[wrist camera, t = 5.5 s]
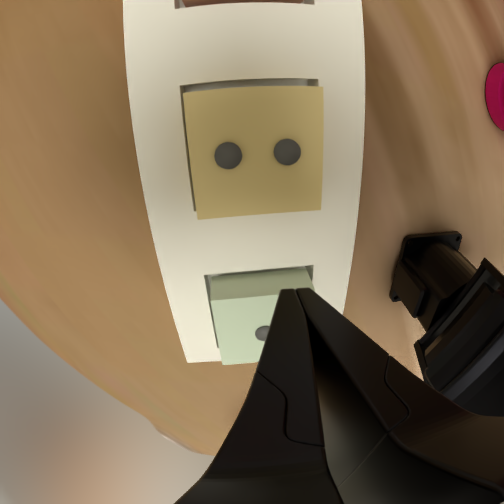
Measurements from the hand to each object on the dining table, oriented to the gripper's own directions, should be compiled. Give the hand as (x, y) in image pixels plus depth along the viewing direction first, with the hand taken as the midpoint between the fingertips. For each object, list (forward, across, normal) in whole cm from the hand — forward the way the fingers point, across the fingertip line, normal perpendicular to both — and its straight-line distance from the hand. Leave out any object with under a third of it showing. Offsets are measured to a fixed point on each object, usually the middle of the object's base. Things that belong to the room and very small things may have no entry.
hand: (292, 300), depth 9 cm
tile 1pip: (+9, 0, +8) cm, 12 cm away
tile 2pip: (+9, 0, -3) cm, 9 cm away
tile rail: (+12, 0, -3) cm, 12 cm away
